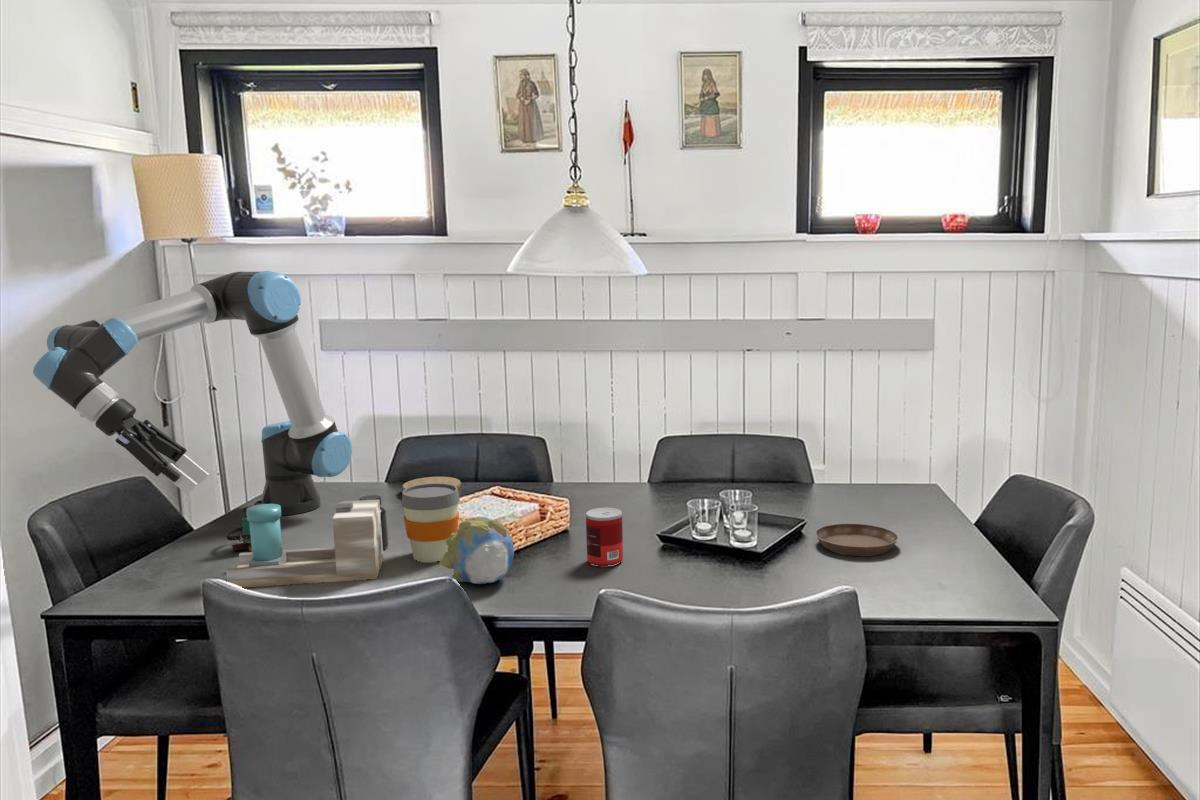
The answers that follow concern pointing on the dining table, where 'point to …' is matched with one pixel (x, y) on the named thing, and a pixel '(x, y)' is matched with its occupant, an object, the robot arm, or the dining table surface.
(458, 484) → the tan shallow dish
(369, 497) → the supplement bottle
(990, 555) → the dining table surface
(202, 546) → the dining table surface
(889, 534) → the plant saucer
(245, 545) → the binoculars
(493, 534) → the decorative rock
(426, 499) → the reusable coffee cup
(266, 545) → the knob slider
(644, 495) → the dining table surface
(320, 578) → the knob mount
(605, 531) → the canned food
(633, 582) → the dining table surface
